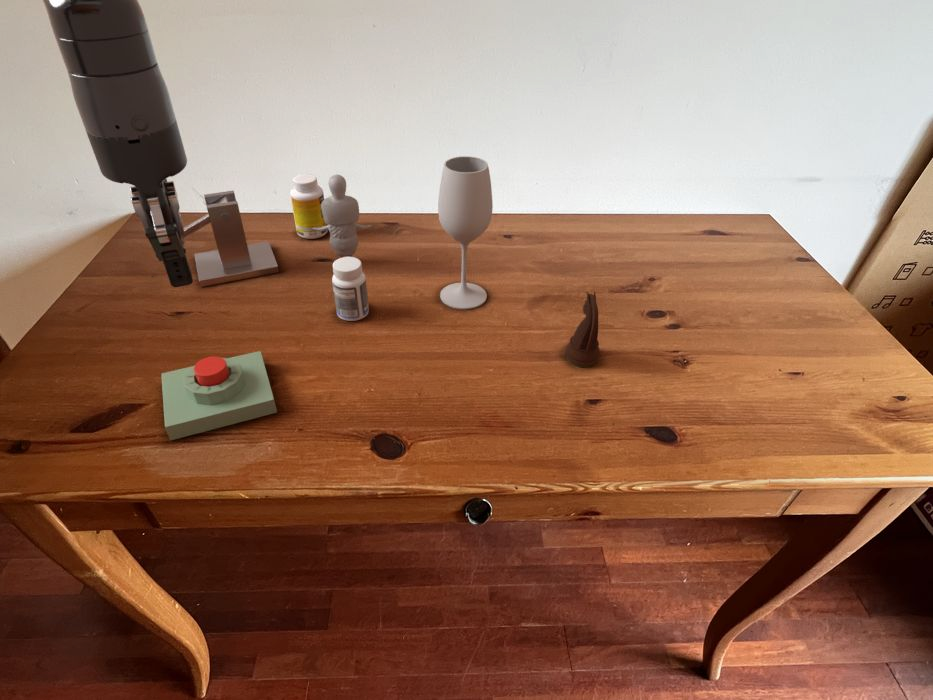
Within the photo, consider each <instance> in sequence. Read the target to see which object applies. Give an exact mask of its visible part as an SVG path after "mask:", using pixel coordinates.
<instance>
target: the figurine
mask: <svg viewBox="0 0 933 700" xmlns="http://www.w3.org/2000/svg"><path fill="white" fill-rule="evenodd" d="M327 185H328V189H329V191H330V194H331V196H328V197H326V198H324V200H323V201H322V204H321V208H322V215H323V218H324V221H325V222H326V223H327V226H324V227H321V228H312V229H313V230H315V231H326V230H328V231H329V243H328V244H329V246H330V247H331V248H332V249H333V252H334V253H335V254H336V255H337V256H338V257H339V258H342V257H353V255H354V254H356V252H357V248H358V246H359V244H360V243H359V242H360V241H359V237H358V235H357V234H358V232H357V230H368V229H370V228H372V227H373V225H372V224H368V225H364V224H358V223H357V222H358V221H359V219H360V206H359V201H358V200H357V199H356V198H355V197H353V196H350V195H346V191H347V181H346V179H345V177H344V176H342V175H341V174H333V175H331V176H330V177H329V178H328V184H327Z"/></svg>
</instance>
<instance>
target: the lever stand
mask: <svg viewBox="0 0 933 700" xmlns="http://www.w3.org/2000/svg"><path fill="white" fill-rule="evenodd" d="M203 197H204V201H205V206H206V210H207V214H209V218H210V222H211V223H210V225H211V228H212V233H213V237H214V241H215V244H216V248H217V249H214V250H210V251H208V250H207V251H203V252H197V253H194V260H195V265H196V271H197V277H198V282H199V286H200V287H201V288H203V287H209V286H215V285H219V284H224V283H229V282H235V281H240V280H246V279H251V278H256V277H261V276H267V275H273V274H278V273H280V270H279V264H278V262H277V259H276V257H275V254H274V252H273V249H272V247H271V244H270V241H269V240H266V241H262V242H255V243H249V244H248V242H247V238H246V234H245V229H244V225H243V220H242V215H241V212H240V211H241V210H240V206H239V203H238V201H237V197H236V194H235V190H227V191H220V192H212V193H207V194H203ZM223 197H226V198H227V199H228V200H229V201H230V202H225V203H218V204H213V203H215V202H217V201H218V200H220V199H222V198H223Z"/></svg>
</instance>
